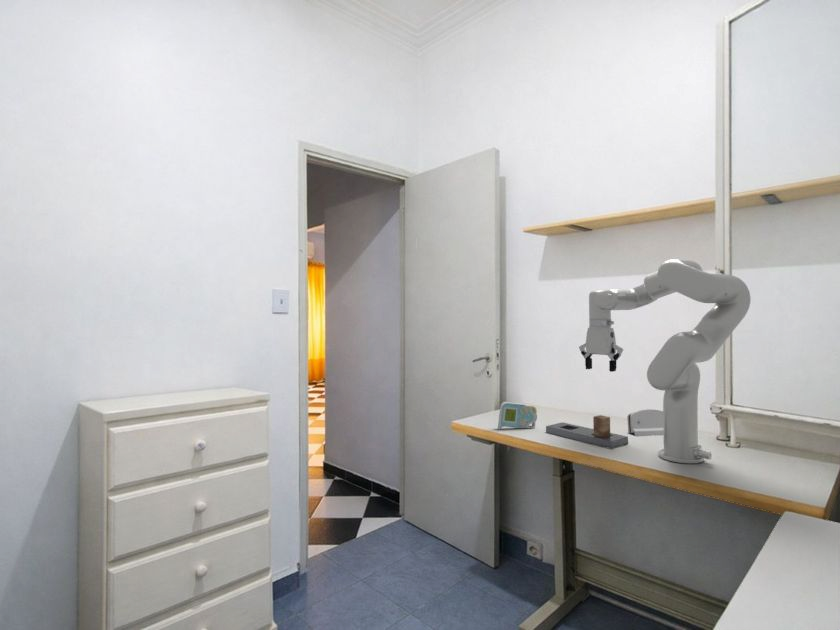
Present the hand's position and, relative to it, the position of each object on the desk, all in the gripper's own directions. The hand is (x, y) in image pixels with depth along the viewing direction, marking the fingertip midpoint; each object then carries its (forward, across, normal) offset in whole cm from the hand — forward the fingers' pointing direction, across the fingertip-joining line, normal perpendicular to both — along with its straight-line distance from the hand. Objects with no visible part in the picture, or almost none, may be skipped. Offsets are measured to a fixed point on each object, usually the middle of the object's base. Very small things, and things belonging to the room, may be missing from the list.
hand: (600, 370), depth 174 cm
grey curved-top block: (+25, -8, -20) cm, 33 cm away
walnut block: (+25, -4, +6) cm, 26 cm away
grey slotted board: (+25, +3, +5) cm, 26 cm away
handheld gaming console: (+25, +29, +13) cm, 41 cm away
